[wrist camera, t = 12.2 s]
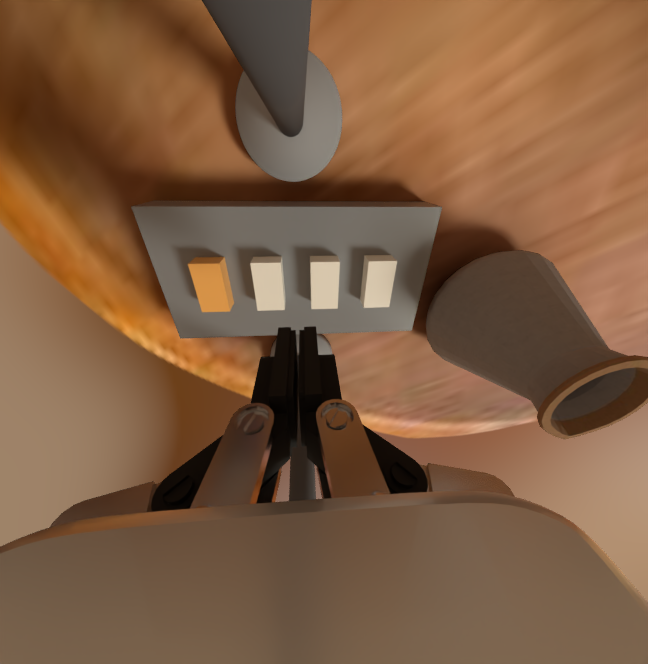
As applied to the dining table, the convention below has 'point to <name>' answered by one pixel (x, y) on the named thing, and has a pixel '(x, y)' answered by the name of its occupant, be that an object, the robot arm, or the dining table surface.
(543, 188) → the dining table surface
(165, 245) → the breaker strip
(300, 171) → the post
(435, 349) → the coffee pot
